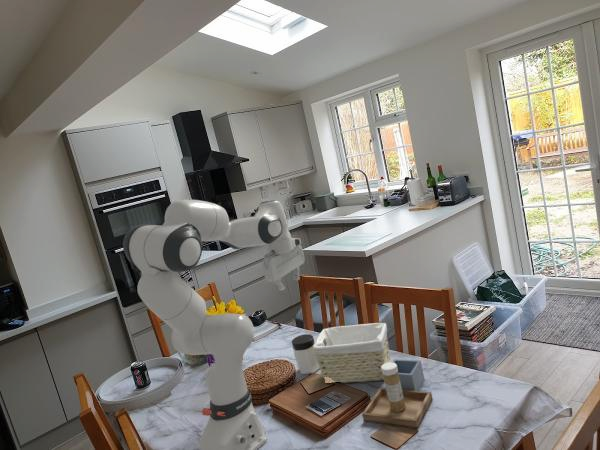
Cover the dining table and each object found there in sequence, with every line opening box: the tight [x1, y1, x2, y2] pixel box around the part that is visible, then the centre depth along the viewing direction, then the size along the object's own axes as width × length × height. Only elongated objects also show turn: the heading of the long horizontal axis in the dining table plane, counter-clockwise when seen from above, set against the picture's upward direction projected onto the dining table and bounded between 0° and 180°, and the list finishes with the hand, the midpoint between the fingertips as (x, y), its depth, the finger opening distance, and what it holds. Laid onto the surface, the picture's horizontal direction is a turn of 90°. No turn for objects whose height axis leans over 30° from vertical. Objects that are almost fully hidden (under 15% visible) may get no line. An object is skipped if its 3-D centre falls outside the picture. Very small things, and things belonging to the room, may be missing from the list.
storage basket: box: [313, 322, 391, 384], centre depth 160 cm, size 24×16×15 cm
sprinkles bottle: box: [381, 361, 406, 412], centre depth 134 cm, size 5×5×13 cm
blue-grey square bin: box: [392, 358, 425, 391], centre depth 146 cm, size 9×9×6 cm
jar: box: [291, 333, 320, 375], centre depth 172 cm, size 9×8×12 cm
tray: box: [361, 387, 434, 430], centre depth 134 cm, size 14×16×2 cm
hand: (289, 285), depth 160 cm, fingers open, 8 cm apart
